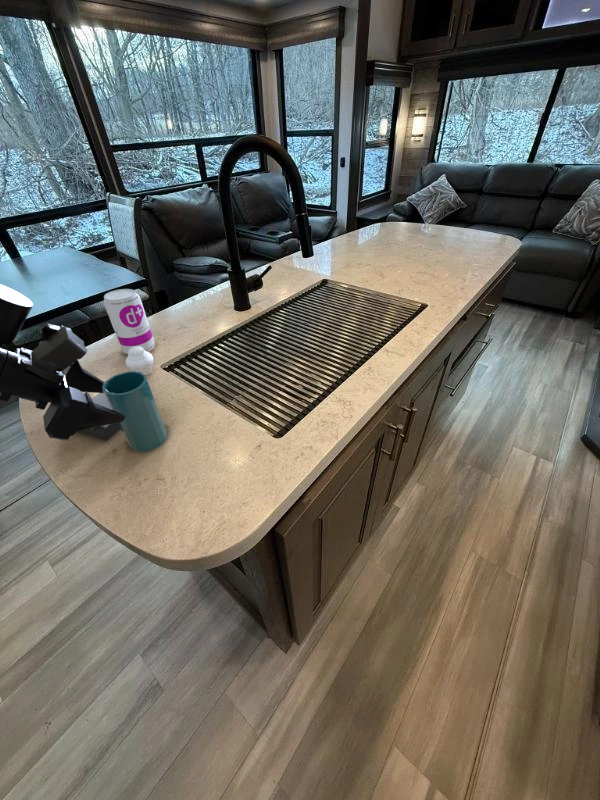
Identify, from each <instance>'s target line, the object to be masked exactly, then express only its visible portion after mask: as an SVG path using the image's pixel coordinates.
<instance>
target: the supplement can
mask: <svg viewBox="0 0 600 800" xmlns="http://www.w3.org/2000/svg"><path fill="white" fill-rule="evenodd" d="M143 305H144V304H143V302H142V299H141V297H140V295H139V294H138V293H137V292H136V290H135V289H132V288H131V289H130V288H122V289H121V288H120V289H115V290H111V291H108V292H107V293H104V296H103V306H104V309H105V311H106V313H107V315H108V318H109V320H110V321H109V322H110V323H111V325H112V329H113V331H114V334H115V336H116V338H117V341H118V343H119V346H120V348H121V351H122V353H124V354H126V355H128V351H129V350H130V349H131V348H132V347H136V346H137V347H138V346H139V347H142V348H143V349H144V350H145V351H146V352H149V353H150V352H151V351H152V350H153V349H154V347H155V345H156V342H155V339H154V337H153V336H154V335H153V333H152V330H151V327H150V324H149V320H148V317H147V314H146V311H145V308H144V306H143Z"/></svg>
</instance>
